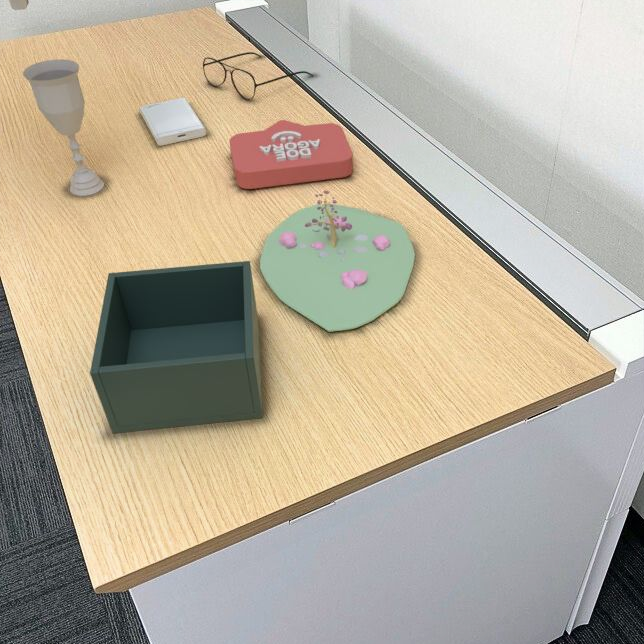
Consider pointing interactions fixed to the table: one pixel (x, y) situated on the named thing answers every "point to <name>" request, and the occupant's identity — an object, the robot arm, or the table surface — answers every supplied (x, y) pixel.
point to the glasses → (244, 71)
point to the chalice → (64, 112)
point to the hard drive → (172, 121)
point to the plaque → (290, 154)
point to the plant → (338, 264)
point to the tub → (178, 347)
